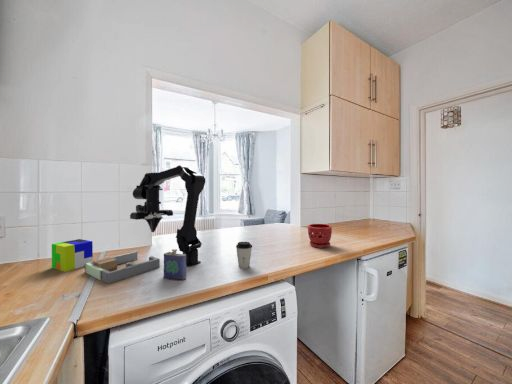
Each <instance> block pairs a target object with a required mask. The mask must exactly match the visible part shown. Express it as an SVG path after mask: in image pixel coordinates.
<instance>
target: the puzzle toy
mask: <svg viewBox="0 0 512 384" xmlns="http://www.w3.org/2000/svg"><path fill="white" fill-rule="evenodd" d="M93 244H94V243H93V241H92V240H87V239H81V238H78V239H73V240H67V241H60V242H56V243H55V242H54V243H51V269H54V268H55V270H58V271H61V272H64V273H65V272H70V271H73V270H77V269H81V268H83V267H84V268H85V263H88V262H93V261H94V260H93V259H94V258H93V256H94V255H93V254H94V253H93V251H94V249H93V246H94V245H93Z"/></svg>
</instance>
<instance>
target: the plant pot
mask: <svg viewBox="0 0 512 384" xmlns="http://www.w3.org/2000/svg"><path fill="white" fill-rule="evenodd" d="M332 231H333V230H332V225H330V224H328V223H327V224H326V223H312V224H308V225H307V233H308V234H307V235H308V238H309V245H310V246H311V247H313V248H318V249H320V248H321V249H323V248H325V247H327V248H329V247H330V246H331V242H330V241H331V239H332V234H333V233H332ZM325 249H326V248H325Z"/></svg>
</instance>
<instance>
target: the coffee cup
mask: <svg viewBox="0 0 512 384" xmlns="http://www.w3.org/2000/svg"><path fill="white" fill-rule="evenodd" d="M235 248H236V255H237V257H236V258H237V262H238V263H237V264H238V268H239V267H240V268H239V269H244V268H245V269H248V267H249V268H250V265H251V258H252V257H251V256H252V248H253V244H251V243H250V242H248V241H239V242H237V244H236V246H235Z"/></svg>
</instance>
